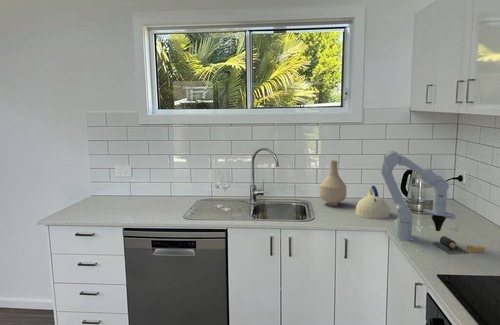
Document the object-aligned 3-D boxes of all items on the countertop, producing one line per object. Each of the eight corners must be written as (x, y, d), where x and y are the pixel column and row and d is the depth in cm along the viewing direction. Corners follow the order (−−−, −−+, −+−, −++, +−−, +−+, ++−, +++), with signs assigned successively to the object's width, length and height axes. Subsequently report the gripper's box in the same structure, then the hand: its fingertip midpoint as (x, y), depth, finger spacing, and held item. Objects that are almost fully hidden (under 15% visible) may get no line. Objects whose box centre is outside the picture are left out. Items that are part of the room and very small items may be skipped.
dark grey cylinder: (439, 244, 180) (439, 236, 179) (447, 244, 180) (447, 236, 179) (448, 250, 172) (449, 241, 172) (457, 249, 173) (457, 241, 172)
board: (430, 243, 182) (430, 240, 182) (449, 242, 183) (449, 239, 183) (461, 262, 159) (461, 259, 159) (482, 261, 160) (483, 258, 160)
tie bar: (466, 250, 171) (467, 245, 171) (481, 250, 172) (481, 244, 171) (469, 252, 169) (470, 246, 169) (484, 251, 170) (485, 246, 169)
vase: (336, 209, 245) (337, 163, 241) (314, 204, 258) (315, 160, 254) (351, 204, 257) (352, 160, 253) (329, 200, 270) (330, 158, 266)
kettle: (384, 210, 243) (386, 182, 240) (393, 219, 222) (395, 189, 220) (352, 209, 245) (353, 182, 242) (358, 218, 224) (359, 188, 222)
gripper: (420, 202, 185) (419, 228, 187) (452, 207, 174) (450, 236, 176) (427, 199, 190) (426, 225, 191) (458, 204, 179) (456, 232, 180)
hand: (438, 230), depth 184 cm, fingers closed
